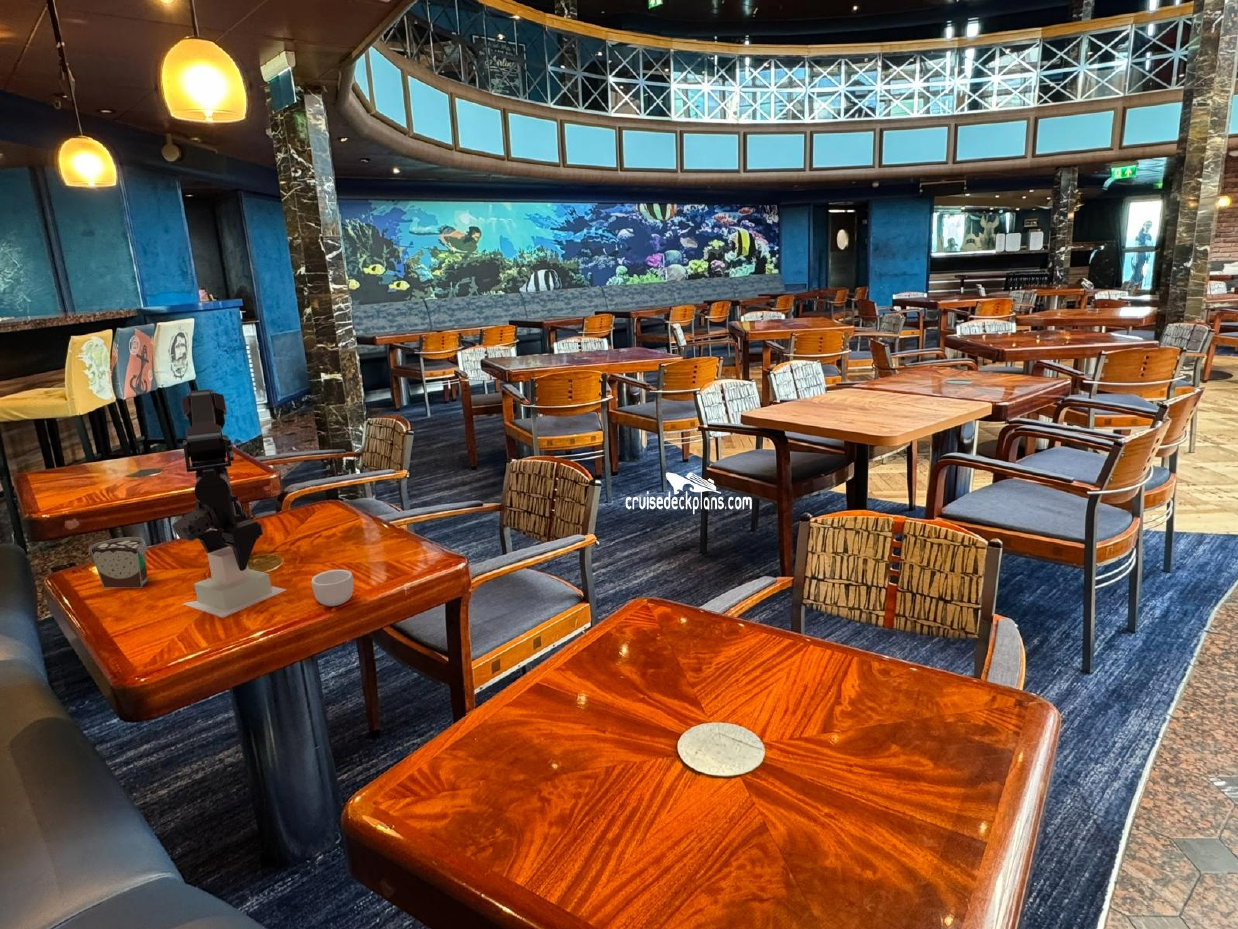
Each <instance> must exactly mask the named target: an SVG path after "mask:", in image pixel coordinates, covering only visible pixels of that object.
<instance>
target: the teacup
mask: <svg viewBox="0 0 1238 929" xmlns="http://www.w3.org/2000/svg"><path fill="white" fill-rule="evenodd" d="M311 587H312V591H313V594H314V597H315V599H316V600H317V602H318V603H319V604H321V605H323V606H326V607H337V606H340V605H342V604H345V603H346V602H347V601H349V600H350V598H352V595H353V592H354V575H353V573H352V571H350V570H347V569H331V570H326V571H323V572H321V573H318V574H316V575H314V576H313V577H312V579H311Z"/></svg>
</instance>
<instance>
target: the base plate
mask: <svg viewBox="0 0 1238 929" xmlns="http://www.w3.org/2000/svg"><path fill="white" fill-rule="evenodd" d="M271 589H272V592H270V593H268V594H265V595H263V596H261V597H258V598H256V599H253V600H251V601H248V602H246V603H244V604H241V605H239V606H236V607H234V608H231V609H229V610H227V611H226V610H223V609H219V608H216V607H213V606H210V605H206V604H203V603H200V602H198V600H193V601H189V602H184V603H183V605H185V606H187V607H189V608H193V609H196V610H199V611H202V612H204V613H208V614H210V615H213V616H215V617H219V618H222V619H224V618H225V617H228V616H230V615H233V614H236V613H237V612H240V611H242V610H244V609H247V608H249V607H250V606H253V605H256V604H259V603H260V602H262V601H265V600H267V599H270V598H272V597H274V596H276V595H279V594H282V593H284V592H286V591H287V589H286V588H282V587H277V586H273V585H272V586H271Z"/></svg>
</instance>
